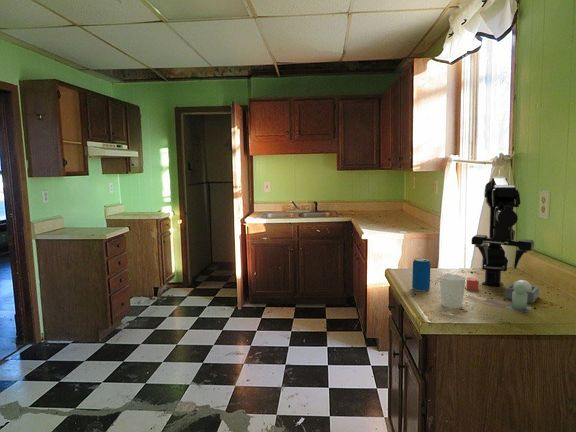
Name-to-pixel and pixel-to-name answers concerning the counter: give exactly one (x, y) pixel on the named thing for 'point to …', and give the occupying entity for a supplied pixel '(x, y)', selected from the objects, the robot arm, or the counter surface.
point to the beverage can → (421, 274)
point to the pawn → (519, 297)
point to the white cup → (452, 290)
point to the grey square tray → (531, 295)
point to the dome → (523, 282)
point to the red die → (472, 283)
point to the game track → (493, 303)
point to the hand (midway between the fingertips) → (500, 266)
